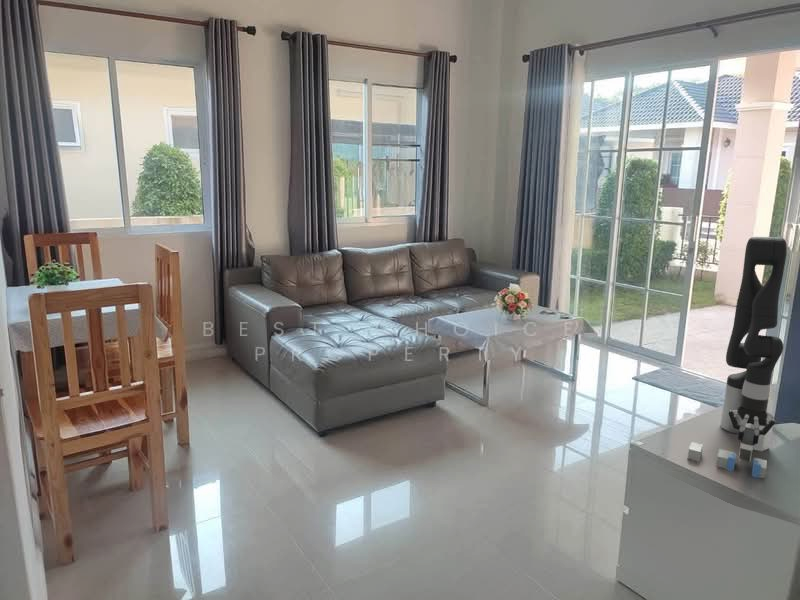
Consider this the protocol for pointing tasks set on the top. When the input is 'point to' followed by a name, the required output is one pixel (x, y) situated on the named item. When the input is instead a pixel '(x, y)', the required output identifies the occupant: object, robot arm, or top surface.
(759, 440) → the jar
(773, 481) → the top surface
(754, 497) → the top surface
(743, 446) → the tall dark pillar
